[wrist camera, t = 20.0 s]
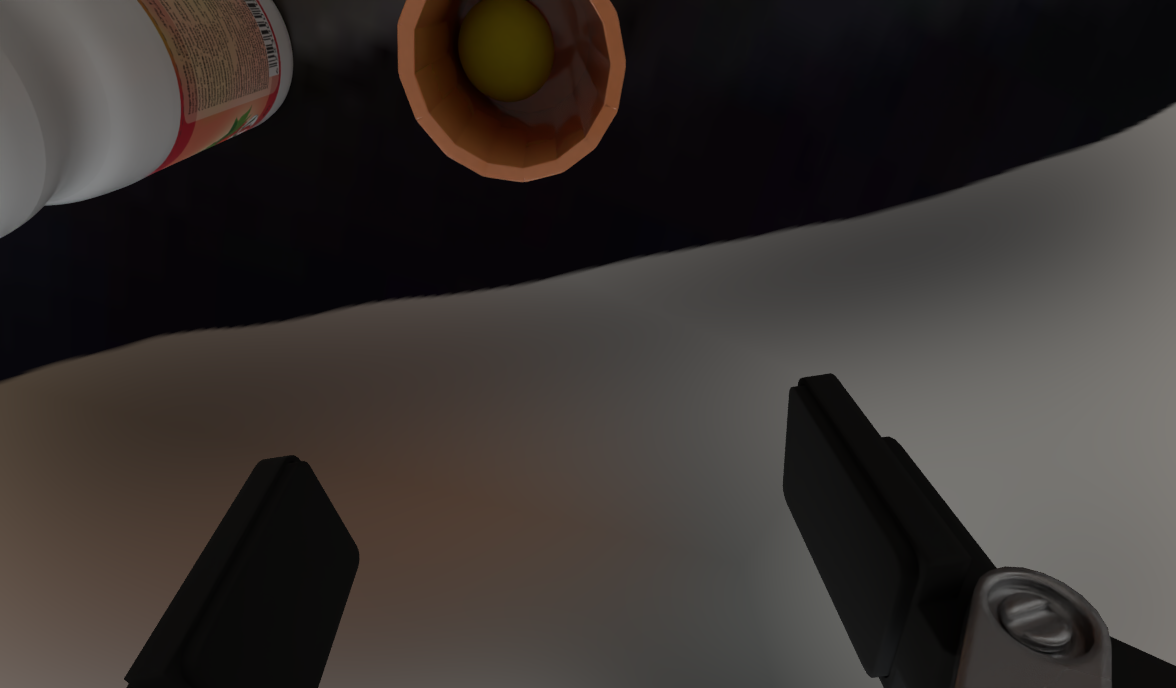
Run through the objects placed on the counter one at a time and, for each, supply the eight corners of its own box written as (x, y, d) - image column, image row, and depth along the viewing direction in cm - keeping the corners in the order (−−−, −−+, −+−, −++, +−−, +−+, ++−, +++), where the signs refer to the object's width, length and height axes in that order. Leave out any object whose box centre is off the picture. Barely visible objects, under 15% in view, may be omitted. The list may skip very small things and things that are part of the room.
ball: (584, 28, 29) (547, 42, 26) (543, 109, 33) (505, 132, 29) (507, -31, 29) (459, -26, 25) (474, 56, 32) (427, 72, 29)
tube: (626, 14, 31) (668, 26, 20) (552, 146, 35) (554, 217, 24) (492, -85, 28) (456, -134, 17) (426, 69, 32) (364, 109, 21)
